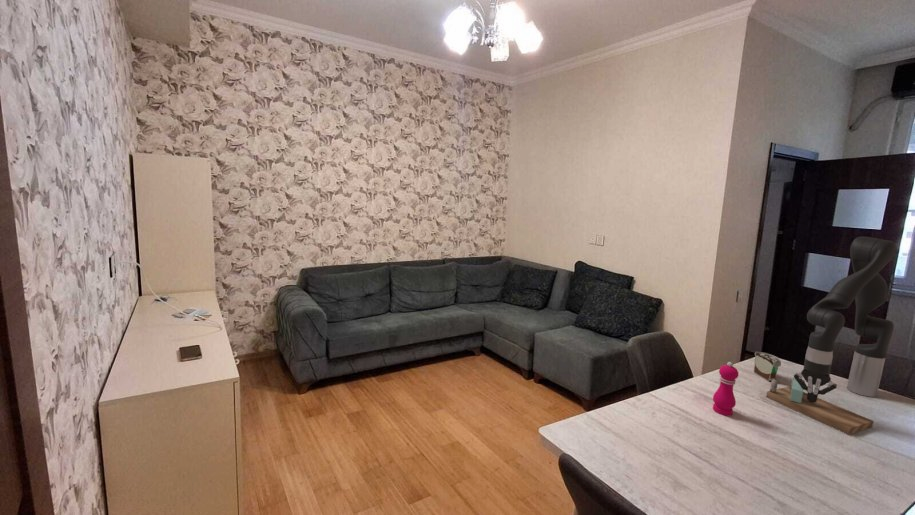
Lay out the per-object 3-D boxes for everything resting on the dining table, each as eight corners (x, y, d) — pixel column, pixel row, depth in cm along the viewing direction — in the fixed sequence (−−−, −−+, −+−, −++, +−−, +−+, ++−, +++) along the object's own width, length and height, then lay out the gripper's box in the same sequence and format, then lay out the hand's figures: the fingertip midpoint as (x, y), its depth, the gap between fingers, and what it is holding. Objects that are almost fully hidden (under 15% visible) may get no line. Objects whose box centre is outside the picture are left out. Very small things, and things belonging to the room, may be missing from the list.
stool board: (788, 391, 169) (792, 375, 168) (872, 427, 145) (876, 408, 143) (766, 397, 164) (769, 380, 163) (848, 434, 139) (852, 415, 138)
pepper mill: (726, 407, 155) (734, 358, 152) (737, 417, 148) (746, 367, 145) (707, 405, 156) (715, 357, 152) (717, 415, 149) (725, 365, 145)
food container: (785, 384, 177) (789, 362, 175) (771, 383, 177) (775, 362, 175) (764, 371, 189) (768, 351, 187) (751, 370, 189) (754, 351, 187)
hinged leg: (790, 387, 167) (792, 376, 166) (802, 391, 164) (805, 379, 164) (788, 399, 157) (791, 388, 156) (802, 403, 154) (804, 391, 153)
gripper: (843, 362, 149) (835, 405, 152) (798, 351, 159) (791, 392, 162) (840, 368, 144) (833, 412, 147) (794, 356, 154) (787, 398, 157)
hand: (811, 401), depth 154 cm, fingers closed
